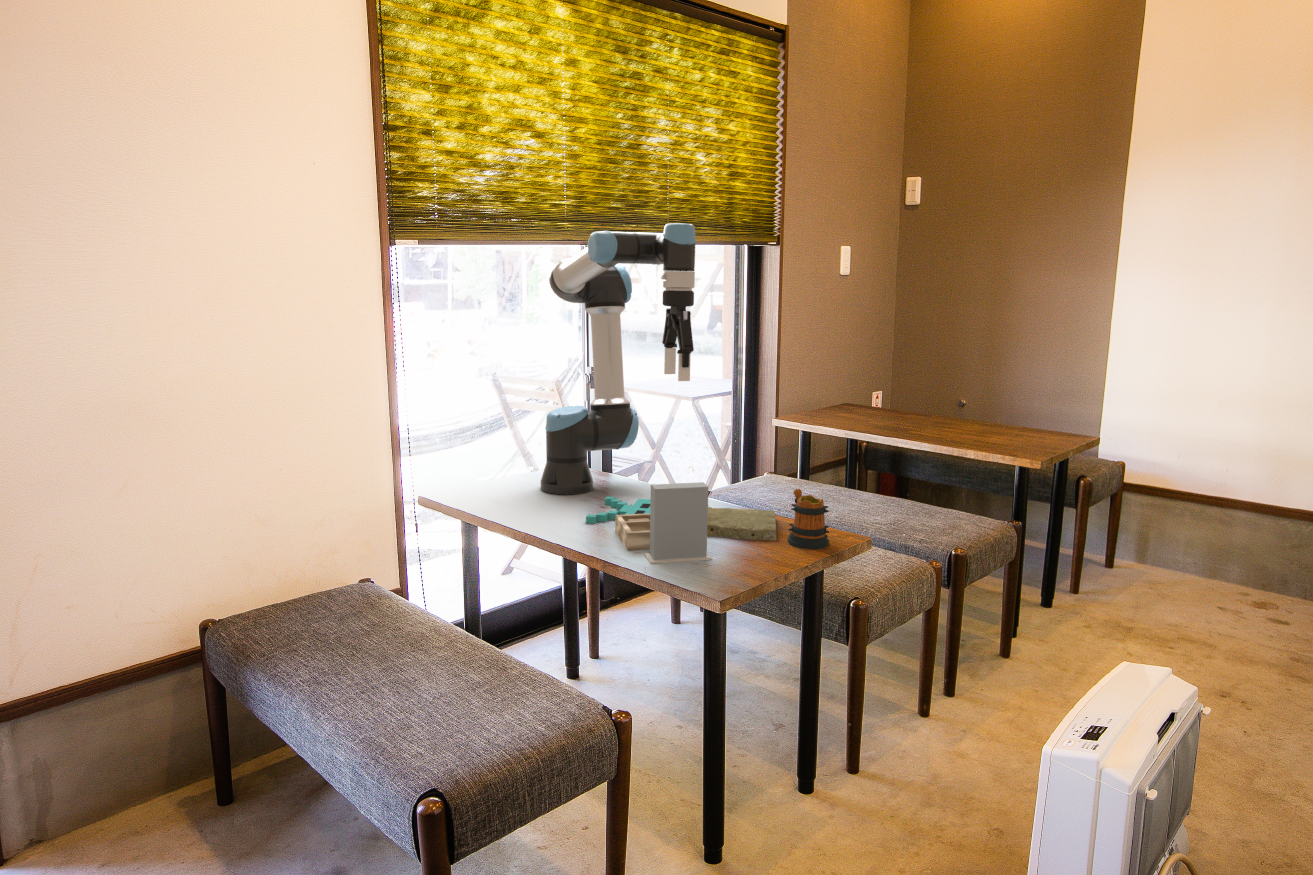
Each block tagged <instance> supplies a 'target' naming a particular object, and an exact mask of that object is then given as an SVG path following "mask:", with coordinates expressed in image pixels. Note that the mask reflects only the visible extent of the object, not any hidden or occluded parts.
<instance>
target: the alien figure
mask: <svg viewBox="0 0 1313 875" xmlns="http://www.w3.org/2000/svg"><path fill="white" fill-rule="evenodd" d="M650 501H651V498H648V499H647V498H638V499H637V500H636V501H635V502H634V504H628V502H626V501H622V499H617V498H616V496H606V497H605V498H604V505H605V506H610V508H613V509H616V510H609V511H608V512H600V511H599V512H598V513H597V514H595V513H594V514H593V513H588V514H587V515H586V517H585V523H586V524H596V523H597V522H600V523H601V522H603V523H606V522H607V521H615V515H626V514H645V513H650Z"/></svg>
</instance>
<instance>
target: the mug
mask: <svg viewBox="0 0 1313 875" xmlns="http://www.w3.org/2000/svg"><path fill="white" fill-rule="evenodd" d="M802 494H803V491H802V489H801V488H795V489H794V490H793V495H794V496H795V498H794V503H791V504H790V505H791V506H792V508H791V511H794V517H793V518H794V519H793V523H788V525H789V526H791V528H789V529H788V531H789V532H790V533H789V536H788V537H787V543H788V544H789V546H792V547H793V548H798V549H801V550H812V551H813V550H815V551H816V550H822V549H825V548H827V547H829V545H830V539H828V537H829V536H828V534H830V530H827V529H828V528H829V527H830V526H829V525H826V521H825V520H826V518H825V513H829V512H830V510H828V509H827V508H829V506H828V505H825V502H824V499H823V498H818V497H817V498H816V497H815V496H814V495H811V494H807V495H802Z"/></svg>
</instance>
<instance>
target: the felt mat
mask: <svg viewBox="0 0 1313 875" xmlns="http://www.w3.org/2000/svg"><path fill="white" fill-rule="evenodd" d="M643 555H644V557H645V558H646V559H647V561H648V562H649V564H650V565H652V564H653V565H654V564H667V563H682V562H697V561H698V562H699V561H701V562H702V561H712V560H713V557H712V556H711V555H710V554H709V553H708V552H707V557H696V558H680V559H664V560H653V558H652V557H651V555H650V552H645V553H643Z"/></svg>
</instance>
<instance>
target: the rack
mask: <svg viewBox="0 0 1313 875" xmlns="http://www.w3.org/2000/svg"><path fill="white" fill-rule="evenodd" d="M643 518H648V519H649V520H640V521H628V519H643ZM614 521H615V522H614V524H615V525H614V526H615V527H614V529H615V533H616V534H617V536H618V538H619V539H620V541H621V542H622V543H623V545H624V547H625V549H626V550H627V551H634V550H650V513H645V514H626V515H615V520H614Z"/></svg>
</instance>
